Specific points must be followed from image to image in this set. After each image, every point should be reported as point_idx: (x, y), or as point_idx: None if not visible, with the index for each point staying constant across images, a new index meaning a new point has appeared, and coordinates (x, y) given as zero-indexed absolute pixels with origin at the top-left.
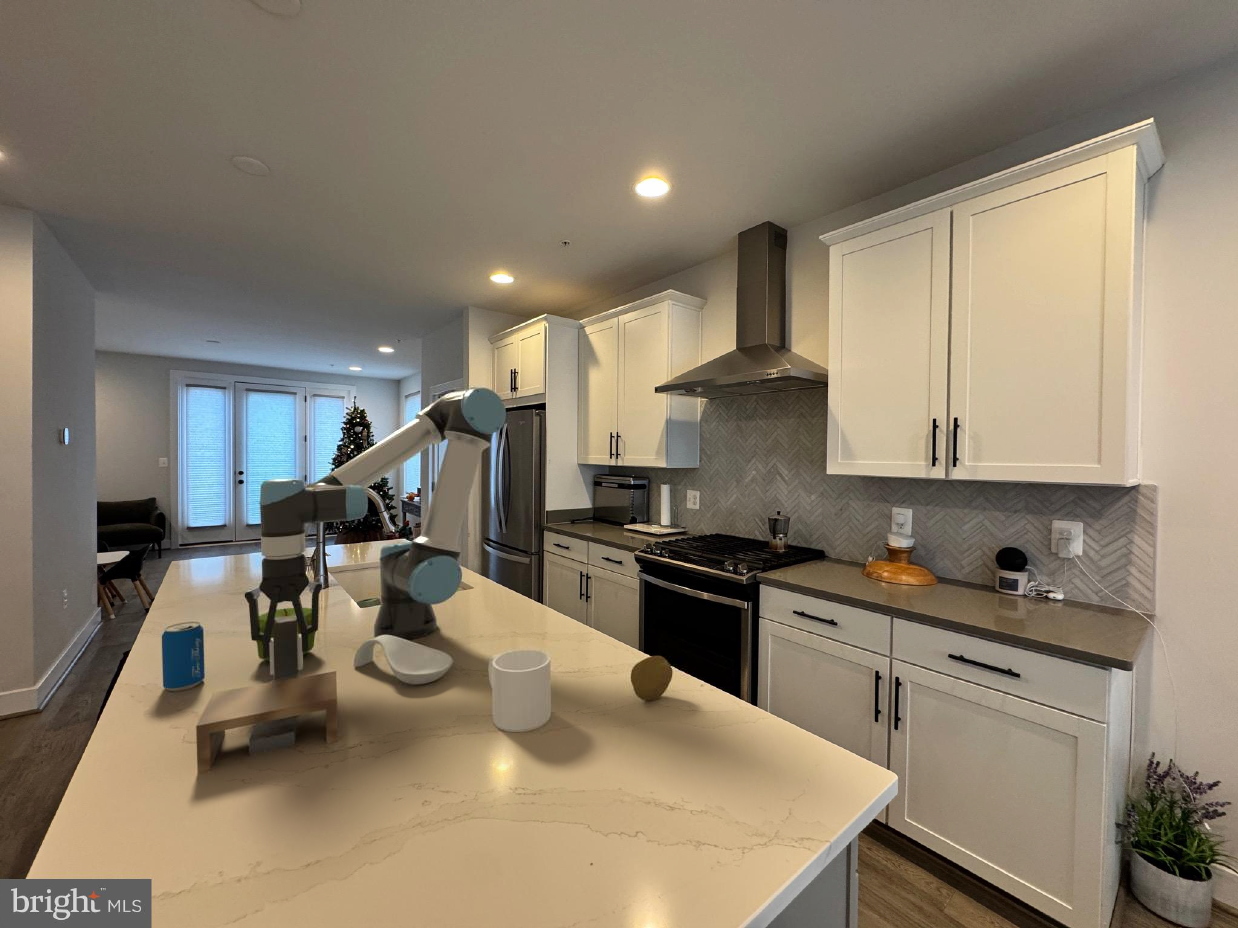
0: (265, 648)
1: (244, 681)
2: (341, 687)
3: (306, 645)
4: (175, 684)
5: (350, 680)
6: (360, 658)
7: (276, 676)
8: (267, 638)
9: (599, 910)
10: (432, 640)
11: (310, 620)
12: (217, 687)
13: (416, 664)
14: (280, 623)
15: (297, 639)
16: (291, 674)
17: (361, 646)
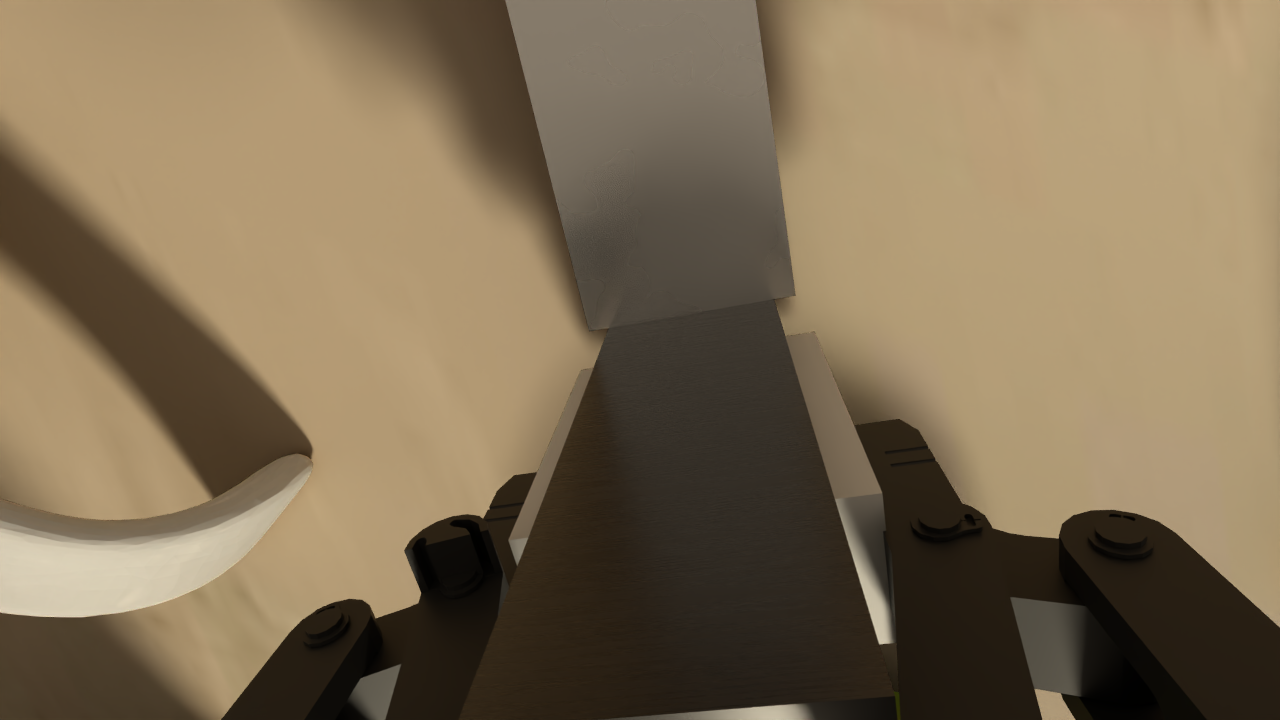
0: (915, 477)
1: (1009, 459)
2: (263, 119)
3: (504, 506)
4: None
5: (250, 238)
6: (234, 486)
7: (761, 310)
8: (922, 530)
9: None
10: (4, 715)
11: None
12: (1184, 412)
13: None
14: (744, 689)
15: None
16: (653, 326)
17: (142, 529)
